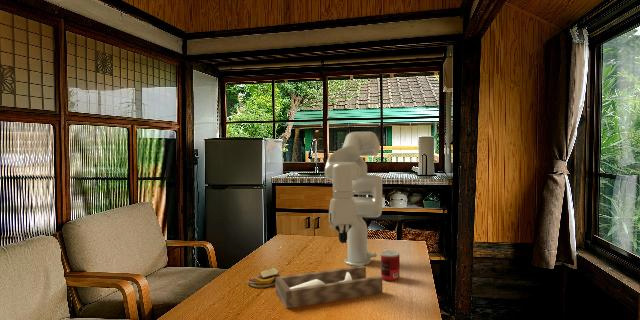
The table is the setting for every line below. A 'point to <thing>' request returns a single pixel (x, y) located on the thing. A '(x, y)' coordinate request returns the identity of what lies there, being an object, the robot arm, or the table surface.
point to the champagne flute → (319, 282)
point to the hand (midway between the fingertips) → (343, 242)
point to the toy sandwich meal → (264, 279)
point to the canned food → (390, 266)
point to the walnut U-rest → (326, 286)
